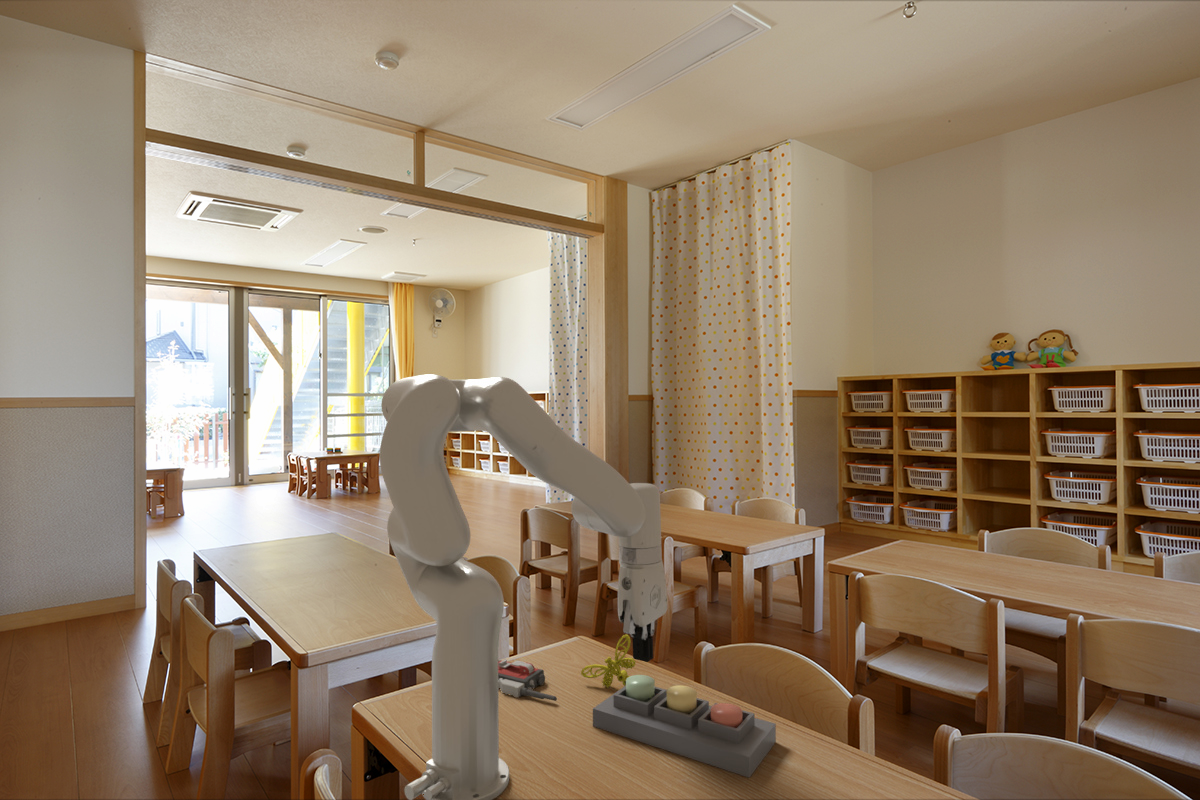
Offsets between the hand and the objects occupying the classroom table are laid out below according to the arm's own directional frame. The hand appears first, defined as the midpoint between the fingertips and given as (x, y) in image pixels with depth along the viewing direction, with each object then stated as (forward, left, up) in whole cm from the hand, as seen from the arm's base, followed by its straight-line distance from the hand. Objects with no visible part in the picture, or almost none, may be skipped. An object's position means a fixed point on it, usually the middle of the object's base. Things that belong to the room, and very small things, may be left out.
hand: (643, 658), depth 111 cm
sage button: (-1, 0, -6) cm, 6 cm away
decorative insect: (+9, +12, -11) cm, 19 cm away
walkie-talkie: (-1, +27, -11) cm, 29 cm away
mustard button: (-1, -8, -6) cm, 10 cm away
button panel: (-1, -8, -11) cm, 13 cm away
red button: (-1, -16, -7) cm, 17 cm away
